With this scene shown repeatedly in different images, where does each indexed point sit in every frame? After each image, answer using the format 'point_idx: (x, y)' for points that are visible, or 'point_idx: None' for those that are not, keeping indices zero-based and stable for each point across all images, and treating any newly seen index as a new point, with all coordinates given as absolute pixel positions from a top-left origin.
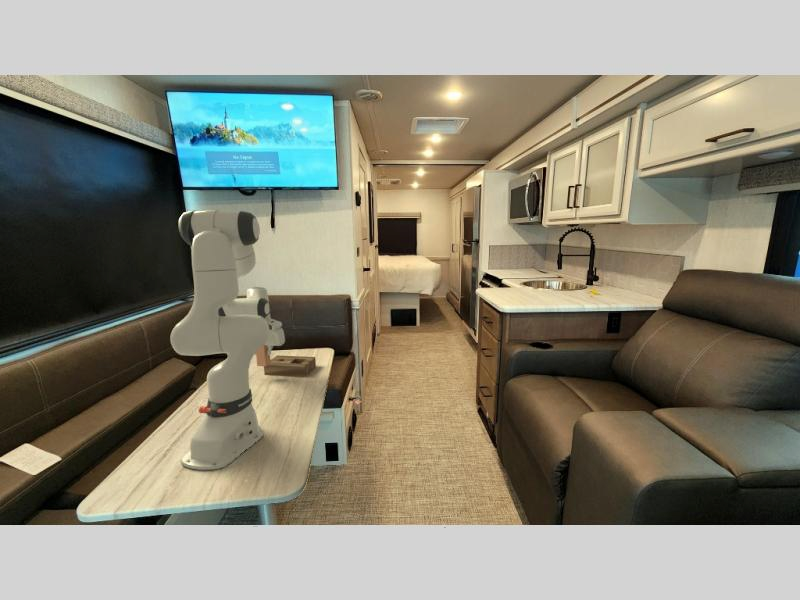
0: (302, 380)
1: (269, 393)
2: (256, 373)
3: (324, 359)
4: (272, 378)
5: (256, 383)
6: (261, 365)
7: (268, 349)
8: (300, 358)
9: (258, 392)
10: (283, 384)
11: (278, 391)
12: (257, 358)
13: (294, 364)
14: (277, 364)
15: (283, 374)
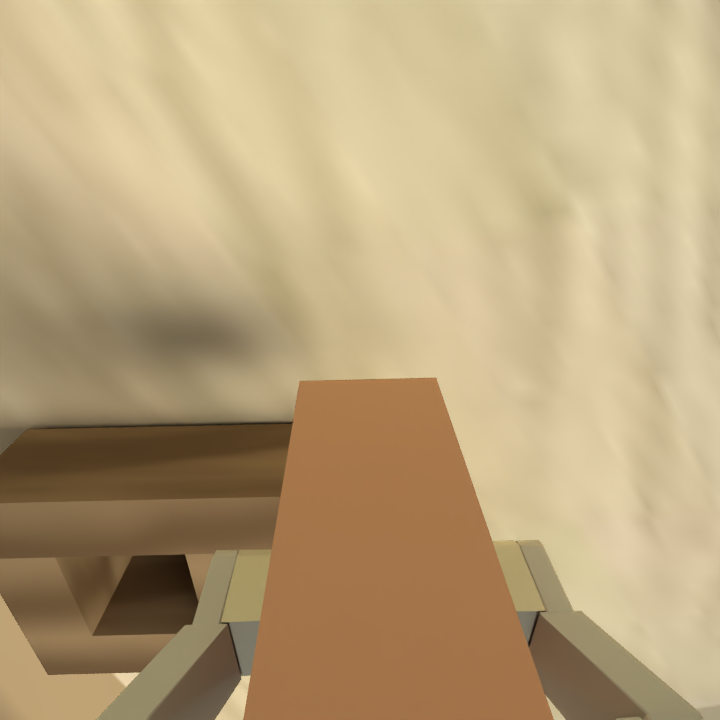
0: (2, 372)
1: (94, 25)
2: (523, 438)
3: (132, 676)
4: (314, 371)
5: (407, 252)
6: (367, 386)
7: (172, 680)
8: (159, 640)
9: (244, 31)
10: (114, 270)
11: (32, 97)
12: (442, 457)
13: (104, 534)
14: None
15: (236, 432)
